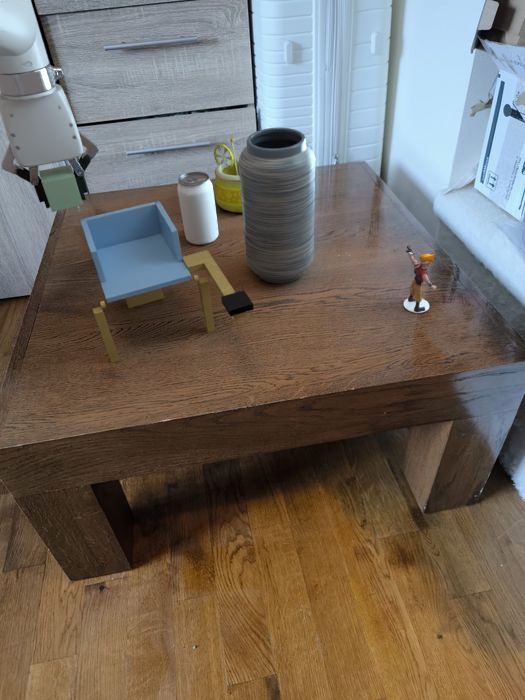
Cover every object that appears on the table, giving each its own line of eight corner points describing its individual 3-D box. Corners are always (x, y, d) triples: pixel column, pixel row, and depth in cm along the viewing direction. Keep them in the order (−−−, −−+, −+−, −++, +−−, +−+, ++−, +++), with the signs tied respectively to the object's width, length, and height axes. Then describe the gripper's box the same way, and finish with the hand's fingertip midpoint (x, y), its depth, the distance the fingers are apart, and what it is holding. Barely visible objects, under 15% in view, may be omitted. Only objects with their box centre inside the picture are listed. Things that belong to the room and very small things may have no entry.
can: (224, 239, 99) (217, 179, 91) (194, 249, 97) (184, 189, 89) (210, 225, 103) (202, 167, 95) (180, 235, 101) (169, 176, 93)
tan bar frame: (111, 363, 75) (91, 307, 68) (96, 311, 85) (77, 257, 77) (215, 331, 79) (206, 274, 72) (190, 285, 89) (180, 231, 81)
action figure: (390, 281, 86) (398, 232, 80) (407, 279, 87) (415, 229, 80) (417, 326, 78) (428, 275, 71) (436, 324, 78) (448, 273, 71)
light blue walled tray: (125, 357, 62) (113, 319, 58) (90, 253, 79) (79, 219, 75) (254, 316, 66) (251, 279, 62) (194, 226, 83) (189, 193, 79)
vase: (326, 264, 91) (331, 132, 75) (286, 297, 85) (283, 161, 69) (275, 244, 97) (269, 118, 81) (234, 273, 90) (220, 143, 75)
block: (52, 212, 83) (41, 182, 80) (49, 199, 86) (38, 170, 83) (83, 205, 84) (74, 175, 81) (79, 193, 88) (70, 164, 84)
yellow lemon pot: (273, 211, 106) (270, 153, 98) (221, 219, 105) (214, 162, 96) (259, 185, 115) (256, 130, 107) (211, 192, 114) (204, 137, 106)
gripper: (83, 66, 78) (112, 181, 90) (-38, 84, 73) (10, 203, 86) (90, 78, 73) (120, 198, 85) (-39, 98, 68) (13, 222, 80)
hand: (65, 199), depth 85 cm, fingers closed on block, 5 cm apart
